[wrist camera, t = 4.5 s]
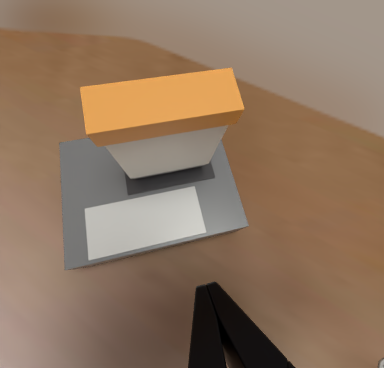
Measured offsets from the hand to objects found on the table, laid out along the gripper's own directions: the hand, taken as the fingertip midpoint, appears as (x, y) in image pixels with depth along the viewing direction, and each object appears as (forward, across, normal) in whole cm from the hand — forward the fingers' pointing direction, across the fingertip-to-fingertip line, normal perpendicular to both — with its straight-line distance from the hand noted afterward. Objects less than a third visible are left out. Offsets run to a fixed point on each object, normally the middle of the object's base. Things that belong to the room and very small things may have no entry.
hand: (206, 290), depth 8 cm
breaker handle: (+13, 0, -1) cm, 13 cm away
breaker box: (+16, +2, +4) cm, 16 cm away
